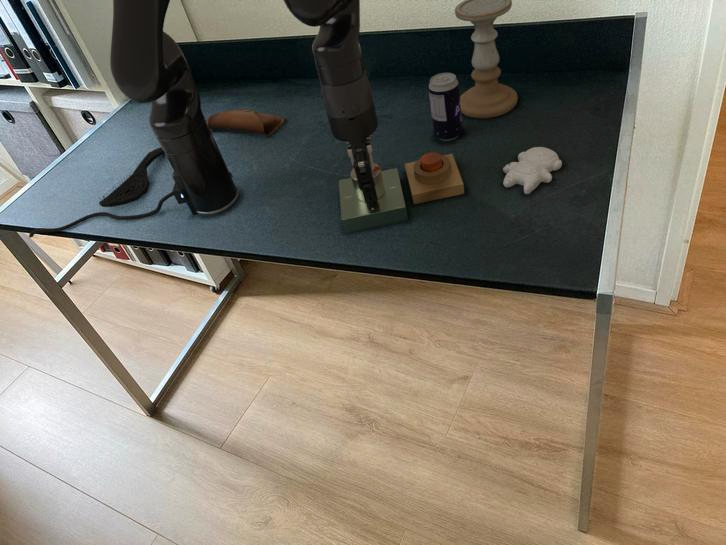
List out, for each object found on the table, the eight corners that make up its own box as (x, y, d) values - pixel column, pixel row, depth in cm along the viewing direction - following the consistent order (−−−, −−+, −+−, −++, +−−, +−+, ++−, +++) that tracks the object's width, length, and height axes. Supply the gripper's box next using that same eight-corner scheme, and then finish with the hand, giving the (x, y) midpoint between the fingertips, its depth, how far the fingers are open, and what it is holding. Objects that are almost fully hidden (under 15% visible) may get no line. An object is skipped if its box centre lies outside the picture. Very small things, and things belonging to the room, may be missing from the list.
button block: (413, 204, 94) (410, 186, 91) (406, 173, 101) (403, 155, 98) (464, 194, 93) (462, 175, 90) (453, 163, 100) (451, 144, 97)
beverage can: (462, 142, 105) (457, 84, 96) (433, 144, 106) (425, 87, 98) (463, 126, 108) (459, 70, 100) (435, 129, 110) (429, 73, 102)
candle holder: (528, 94, 112) (529, -7, 98) (498, 123, 107) (495, 20, 93) (477, 86, 119) (471, -10, 105) (446, 113, 114) (436, 15, 100)
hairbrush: (175, 137, 125) (119, 199, 108) (182, 151, 128) (128, 214, 110) (146, 140, 128) (85, 201, 110) (152, 154, 130) (95, 215, 112)
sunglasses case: (287, 117, 126) (271, 102, 120) (277, 144, 125) (261, 130, 120) (230, 112, 135) (212, 98, 129) (221, 138, 134) (203, 125, 128)
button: (423, 174, 93) (422, 165, 92) (420, 163, 96) (419, 154, 95) (443, 169, 93) (442, 161, 92) (440, 158, 96) (439, 150, 94)
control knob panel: (345, 233, 92) (341, 219, 90) (342, 193, 101) (338, 179, 98) (408, 220, 91) (405, 205, 89) (399, 181, 100) (397, 166, 97)
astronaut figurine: (490, 183, 93) (489, 169, 91) (529, 149, 98) (529, 134, 96) (534, 199, 88) (534, 184, 86) (573, 162, 93) (574, 147, 91)
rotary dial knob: (356, 204, 92) (350, 181, 89) (354, 187, 96) (349, 164, 92) (386, 198, 92) (381, 174, 88) (383, 181, 95) (378, 158, 92)
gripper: (324, 88, 87) (347, 174, 99) (326, 131, 77) (351, 221, 89) (369, 78, 87) (387, 165, 98) (377, 120, 76) (396, 212, 88)
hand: (370, 191), depth 93 cm, fingers closed on rotary dial knob, 5 cm apart
